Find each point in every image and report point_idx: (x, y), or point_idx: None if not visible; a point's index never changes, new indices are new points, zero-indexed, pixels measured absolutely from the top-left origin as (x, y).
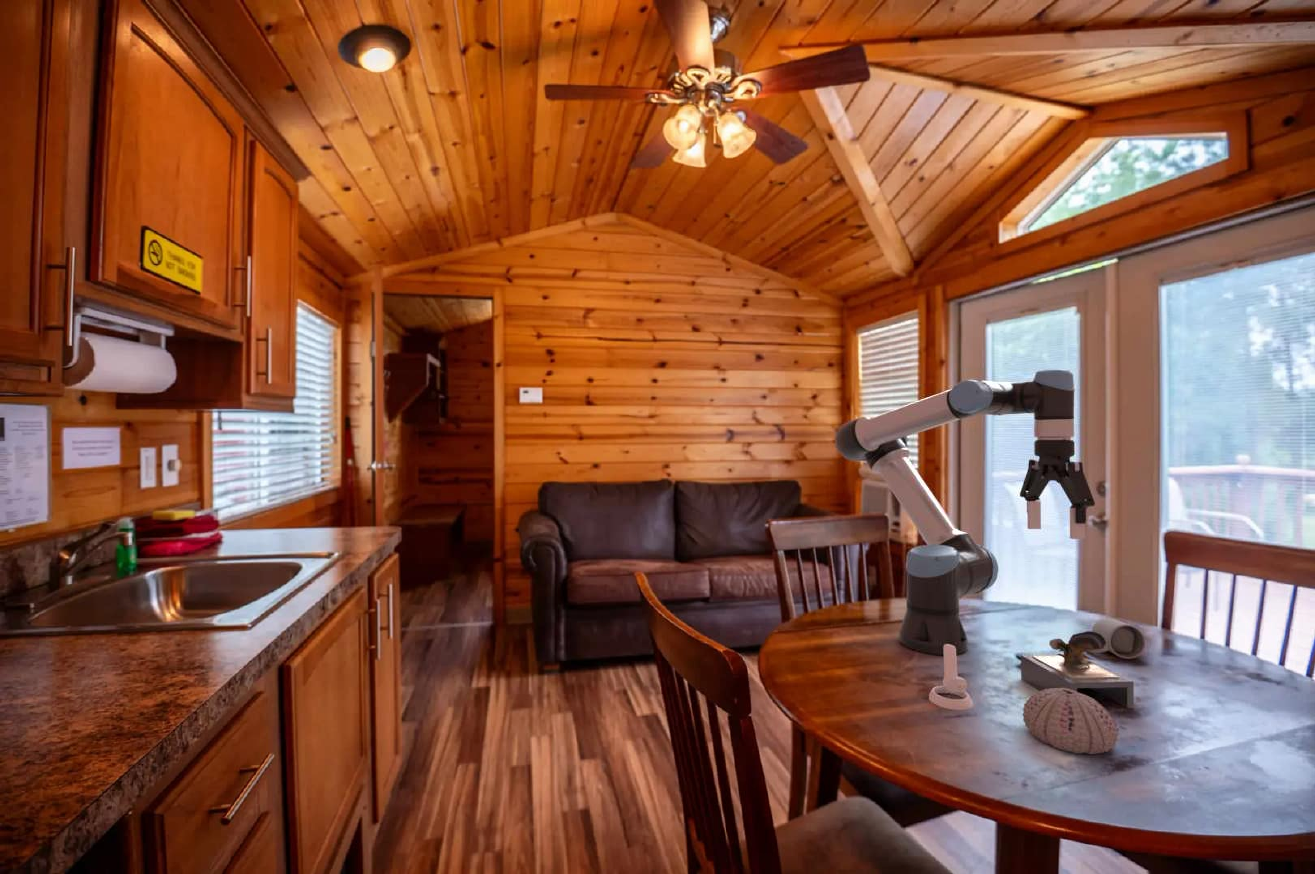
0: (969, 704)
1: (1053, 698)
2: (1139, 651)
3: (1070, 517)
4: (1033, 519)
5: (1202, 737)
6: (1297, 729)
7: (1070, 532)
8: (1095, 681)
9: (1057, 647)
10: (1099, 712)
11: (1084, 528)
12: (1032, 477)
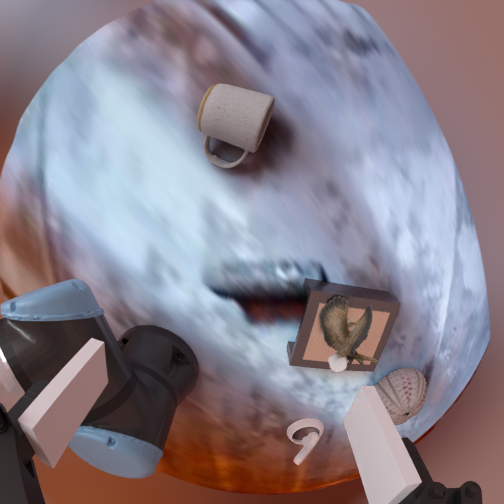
0: (322, 426)
1: (400, 423)
2: (269, 110)
3: (366, 483)
4: (88, 395)
5: (439, 285)
6: (456, 177)
7: (351, 437)
8: (382, 344)
9: (335, 357)
10: (423, 398)
11: (387, 413)
12: None
